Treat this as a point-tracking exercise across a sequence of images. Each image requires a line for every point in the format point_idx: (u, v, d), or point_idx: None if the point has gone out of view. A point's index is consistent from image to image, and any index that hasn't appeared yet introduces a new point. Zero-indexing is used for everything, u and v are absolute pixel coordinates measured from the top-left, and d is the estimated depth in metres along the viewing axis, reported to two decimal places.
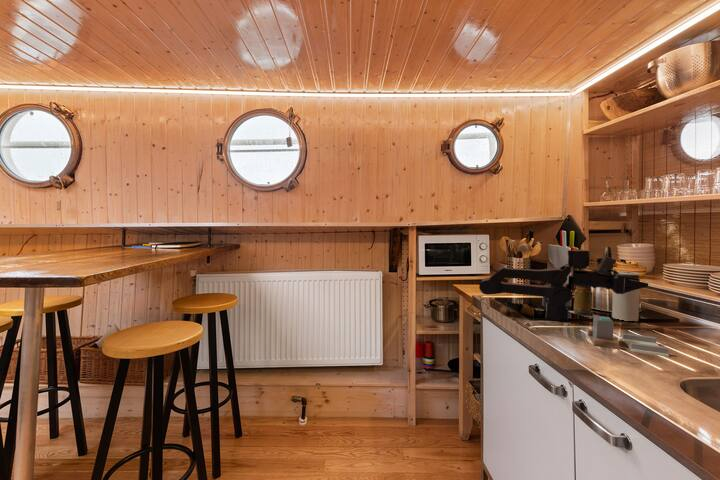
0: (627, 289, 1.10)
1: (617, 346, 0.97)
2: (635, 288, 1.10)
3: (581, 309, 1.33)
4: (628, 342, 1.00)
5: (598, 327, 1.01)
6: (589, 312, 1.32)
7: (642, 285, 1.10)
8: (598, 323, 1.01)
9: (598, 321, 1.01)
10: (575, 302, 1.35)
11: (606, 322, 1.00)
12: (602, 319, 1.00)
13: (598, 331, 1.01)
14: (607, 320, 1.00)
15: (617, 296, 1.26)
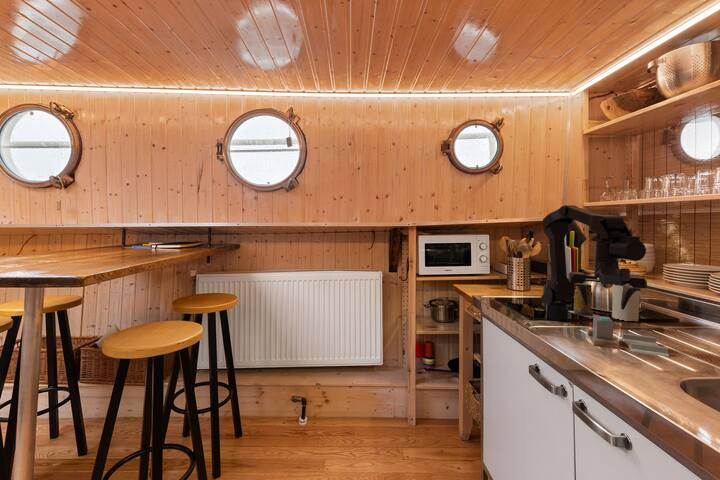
0: (578, 285, 1.06)
1: (617, 346, 0.97)
2: (581, 293, 1.06)
3: (581, 309, 1.33)
4: (628, 342, 1.00)
5: (598, 327, 1.01)
6: (589, 312, 1.32)
7: (583, 300, 1.05)
8: (598, 323, 1.01)
9: (598, 321, 1.01)
10: (575, 302, 1.35)
11: (606, 322, 1.00)
12: (602, 319, 1.00)
13: (598, 331, 1.01)
14: (607, 320, 1.00)
15: (617, 296, 1.26)
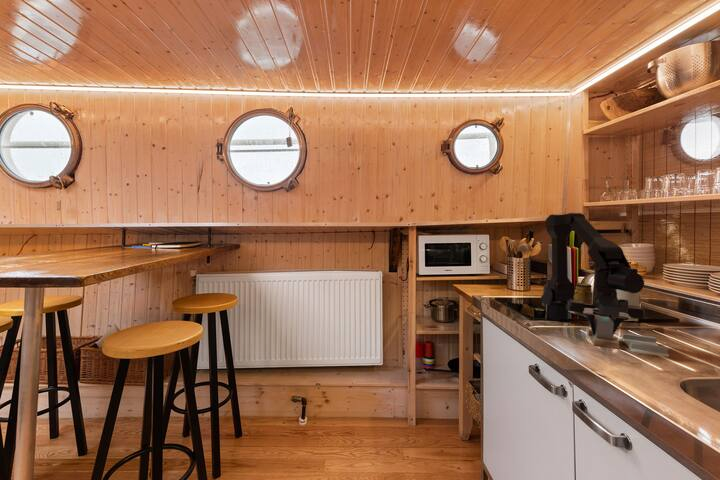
0: None
1: (617, 346, 0.97)
2: (589, 322, 1.05)
3: None
4: (628, 342, 1.00)
5: (598, 327, 1.01)
6: None
7: (591, 329, 1.04)
8: (598, 323, 1.01)
9: (598, 321, 1.01)
10: None
11: (606, 322, 1.00)
12: (602, 319, 1.00)
13: (598, 331, 1.01)
14: (607, 320, 1.00)
15: (617, 296, 1.26)
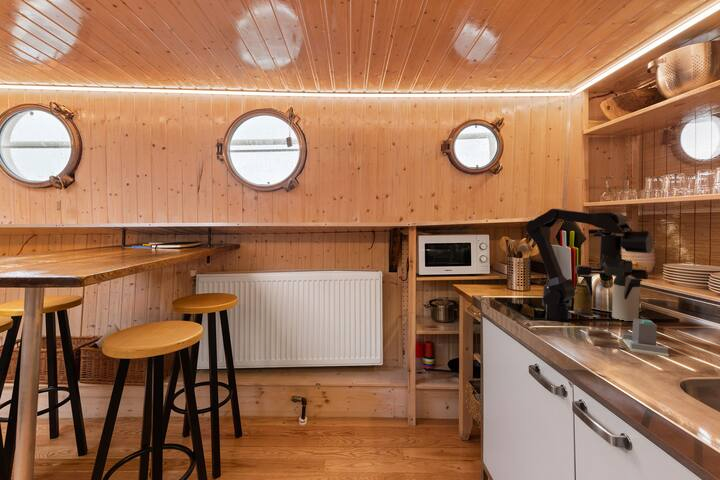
0: (584, 277, 1.15)
1: (617, 346, 0.97)
2: None
3: (581, 309, 1.33)
4: (628, 342, 1.00)
5: (640, 331, 0.96)
6: (589, 312, 1.32)
7: (589, 290, 1.13)
8: (640, 326, 0.96)
9: (640, 324, 0.96)
10: (575, 302, 1.35)
11: (649, 325, 0.95)
12: (644, 322, 0.96)
13: (640, 335, 0.96)
14: (650, 323, 0.95)
15: (617, 296, 1.26)
